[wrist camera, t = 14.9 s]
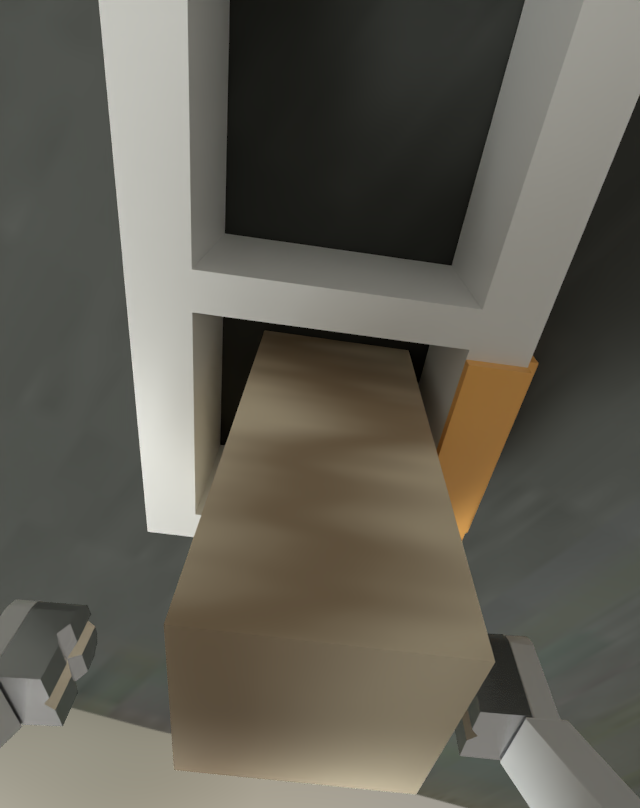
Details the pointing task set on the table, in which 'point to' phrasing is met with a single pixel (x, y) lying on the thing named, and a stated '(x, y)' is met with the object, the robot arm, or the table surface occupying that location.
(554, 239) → the rack
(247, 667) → the wooden block
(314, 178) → the table surface
